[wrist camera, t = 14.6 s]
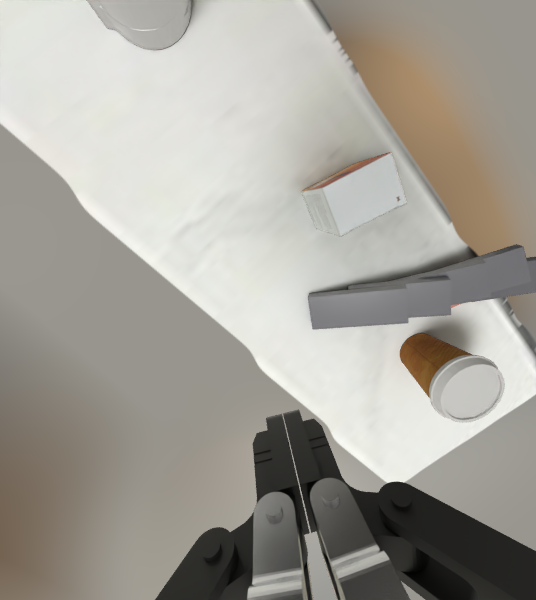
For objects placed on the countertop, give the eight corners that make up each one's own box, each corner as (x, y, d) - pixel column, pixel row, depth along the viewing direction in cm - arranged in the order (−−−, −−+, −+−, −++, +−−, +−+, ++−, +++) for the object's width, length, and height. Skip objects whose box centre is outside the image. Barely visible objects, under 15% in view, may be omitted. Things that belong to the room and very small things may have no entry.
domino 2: (351, 320, 45) (450, 315, 41) (348, 289, 43) (451, 279, 39) (351, 316, 46) (446, 310, 42) (348, 285, 45) (447, 276, 41)
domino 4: (426, 310, 45) (531, 281, 40) (416, 279, 44) (523, 246, 39) (424, 305, 46) (524, 277, 42) (414, 276, 45) (516, 244, 41)
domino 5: (471, 301, 44) (552, 289, 45) (474, 268, 43) (558, 256, 44) (462, 298, 46) (541, 286, 47) (465, 266, 45) (546, 255, 46)
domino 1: (312, 329, 44) (408, 323, 41) (307, 297, 43) (406, 288, 39) (313, 324, 46) (405, 317, 42) (309, 293, 44) (404, 284, 41)
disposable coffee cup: (451, 360, 51) (515, 404, 39) (400, 385, 51) (448, 436, 40) (436, 313, 48) (499, 347, 36) (382, 341, 48) (427, 383, 37)
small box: (353, 163, 40) (394, 149, 30) (367, 203, 41) (410, 202, 31) (299, 191, 40) (320, 186, 30) (315, 229, 42) (340, 237, 32)
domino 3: (389, 317, 45) (491, 297, 40) (381, 286, 44) (486, 262, 39) (388, 312, 46) (485, 293, 42) (380, 282, 45) (481, 259, 41)
